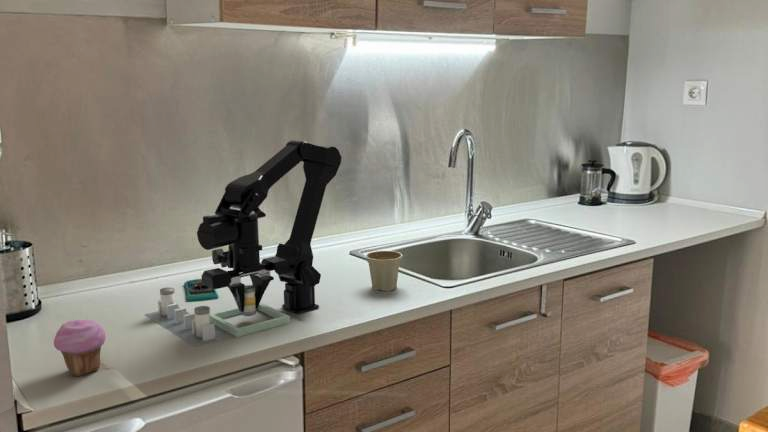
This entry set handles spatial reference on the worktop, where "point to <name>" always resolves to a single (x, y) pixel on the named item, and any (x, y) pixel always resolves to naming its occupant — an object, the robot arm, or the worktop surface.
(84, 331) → the cupcake
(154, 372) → the worktop surface
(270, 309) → the tray
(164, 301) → the fuse left
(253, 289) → the fuse marked
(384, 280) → the flower pot
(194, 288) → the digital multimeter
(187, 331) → the fuse panel
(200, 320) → the fuse right
